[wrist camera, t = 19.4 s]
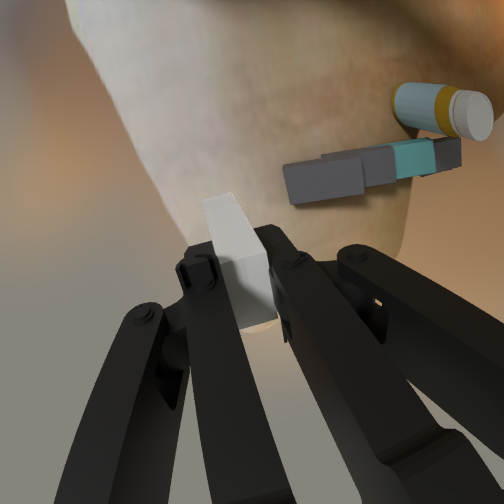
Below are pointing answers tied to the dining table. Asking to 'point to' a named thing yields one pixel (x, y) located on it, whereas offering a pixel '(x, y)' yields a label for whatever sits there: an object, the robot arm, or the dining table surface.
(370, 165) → the domino
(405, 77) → the dining table surface
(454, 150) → the domino
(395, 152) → the domino
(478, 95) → the bottle
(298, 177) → the domino
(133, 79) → the dining table surface
